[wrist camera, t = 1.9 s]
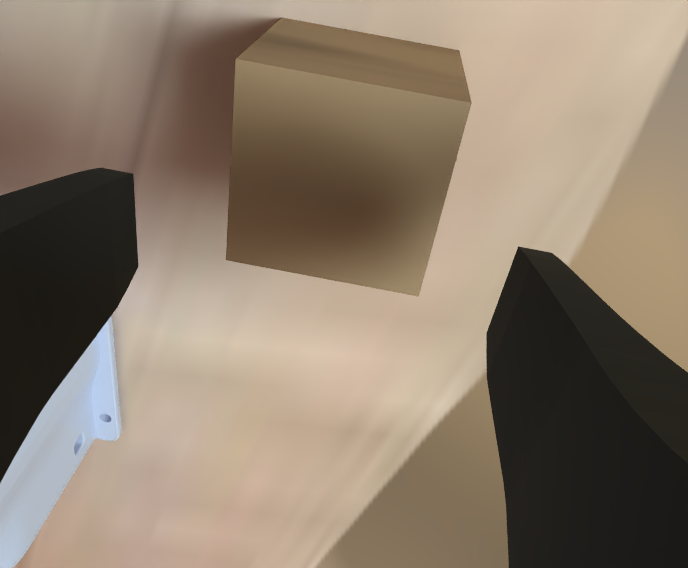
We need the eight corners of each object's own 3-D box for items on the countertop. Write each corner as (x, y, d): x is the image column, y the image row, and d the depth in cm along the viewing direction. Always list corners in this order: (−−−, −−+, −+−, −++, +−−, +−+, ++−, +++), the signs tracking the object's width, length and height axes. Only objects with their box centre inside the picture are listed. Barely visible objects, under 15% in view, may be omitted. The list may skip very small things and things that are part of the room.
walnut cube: (419, 209, 19) (418, 296, 15) (268, 180, 19) (226, 259, 15) (458, 49, 17) (471, 102, 12) (282, 17, 17) (235, 58, 12)
